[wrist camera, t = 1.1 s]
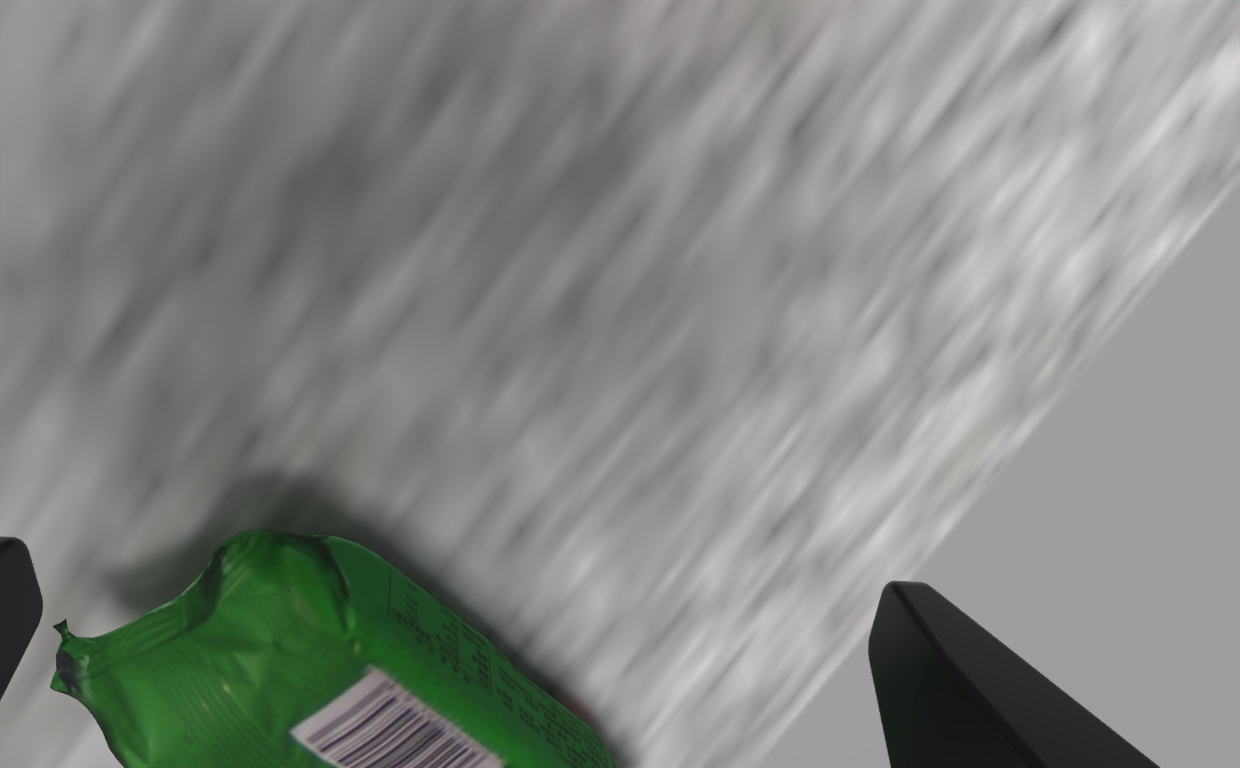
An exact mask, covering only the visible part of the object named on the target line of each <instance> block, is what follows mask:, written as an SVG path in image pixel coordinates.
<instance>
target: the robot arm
mask: <svg viewBox="0 0 1240 768" xmlns="http://www.w3.org/2000/svg"><path fill="white" fill-rule="evenodd" d="M42 610H43V600H42V595H41V592H40V588H39V585H38V581H37V578H36V574H35V571H34V567H33V564H32V560H31V557H30V553H29V550H28V548H27V546H26V544H25V543H24V542H23V541H22V540H20V539H18V538H15V537H0V700H1V698H2V696H3V694H4V692H5V690H6V688H7V686H8V684H9V682H10V680H11V678H12V676H13V674H14V673H15V671H16V669H17V667H18V665H19V663H20V661H21V659H22V657H23V655H24V653H25V651H26V649H27V647H28V645H29V643H30V641H31V639H32V637H33V635H34V633H35V631H36V629H37V627H38V624H39V622H40V619H41V616H42ZM868 654H869V662H870V667H871V672H872V677H873V682H874V686H875V692H876V697H877V702H878V707H879V712H880V717H881V722H882V726H883V731H884V736H885V741H886V746H887V751H888V756H889V761H890V766H891V768H1160V767H1159V766H1158V765H1157V764H1155V763H1154V762H1153V761H1151V760H1150V759H1149V758H1148V757H1146V756H1145V755H1144V754H1143V753H1141V752H1140V751H1139V750H1138V749H1136V748H1135V747H1134V746H1132V745H1131V744H1130V743H1129V742H1127V741H1126V740H1125V739H1123V738H1122V737H1121V736H1120V735H1119V734H1117V733H1116V732H1115V731H1113V730H1112V729H1111V728H1110V727H1108V726H1107V725H1106V724H1105V723H1103V722H1102V721H1101V720H1099V719H1098V718H1097V717H1096V716H1094V715H1093V714H1092V713H1091V712H1089V711H1088V710H1087V709H1085V708H1084V707H1083V706H1082V705H1080V704H1079V703H1078V702H1077V701H1075V700H1074V699H1073V698H1072V697H1070V696H1069V695H1068V694H1067V693H1065V692H1064V691H1063V690H1061V689H1060V688H1059V687H1058V686H1056V685H1055V684H1054V683H1053V682H1051V681H1050V680H1049V679H1048V678H1046V677H1045V676H1044V675H1042V674H1041V673H1040V672H1039V671H1037V670H1036V669H1035V668H1033V667H1032V666H1031V665H1030V664H1029V663H1027V662H1026V661H1025V660H1023V659H1022V658H1021V657H1020V656H1018V655H1017V654H1016V653H1015V652H1013V651H1012V650H1011V649H1009V648H1008V647H1007V646H1006V645H1004V644H1003V643H1002V642H1001V641H999V640H998V639H997V638H996V637H994V636H993V635H992V634H990V633H989V632H988V631H987V630H985V629H984V628H983V627H982V626H980V625H979V624H978V623H976V622H975V621H974V620H973V619H971V618H970V617H969V616H968V615H966V614H965V613H964V612H963V611H961V610H960V609H959V608H958V607H956V606H955V605H954V604H952V603H951V602H950V601H948V600H947V599H946V598H945V597H944V596H942V595H941V594H940V593H939V592H937V591H936V590H935V589H933V588H932V587H930V586H929V585H928V584H926V583H922V582H909V581H891V582H889V583H887V584H886V586H885V587H884V589H883V591H882V594H881V598H880V601H879V605H878V608H877V612H876V615H875V619H874V622H873V626H872V629H871V633H870V637H869V644H868Z"/></svg>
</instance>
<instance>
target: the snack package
mask: <svg viewBox="0 0 1240 768" xmlns="http://www.w3.org/2000/svg"><path fill="white" fill-rule="evenodd" d="M53 627H54V628H55V629H56V630H57V631H58V632H59V633H60V634H61V636H62V642H61V644H60V646H59V649H58V651H57V654H56V667H57V670H56V672H55V674H54V676H53V679H52V682H51V685H50V688H51V689H53V690H54V691H58V692H61V693H64V694H67V695H69V696H71V697H73V698H75V699H77V700H78V701H79V702H81V703H82V704H83V705H84V706H85V707H86V708H87V709H88V710H89V711H90V713H91V714H92V715H93V717H94V718H95V719H96V721H97V723H98V725H99V726H100V728H101V730H102V732H103V734H104V737H105V739H106V742H107V744H108V747H109V749H110V750H111V752H112V753H113V755H114V756H115V758H116V759H117V760H118V761H119V762H120V763H121V765H122V766H123V767H124V768H616V766H615V764H614V762H613V760H612V758H611V756H610V754H609V752H608V750H607V749H606V747H605V745H604V744H603V742H602V741H601V739H600V738H599V737H598V735H597V734H596V733H595V732H594V731H593V729H592V728H590V727H589V726H588V725H587V724H585V723H584V722H583V721H582V720H580V719H579V718H578V717H576V716H575V715H574V714H573V713H571V712H570V711H569V710H568V709H566V708H565V707H564V706H563V705H561V704H560V703H559V702H558V701H556V700H555V699H554V698H553V697H551V696H550V695H549V694H548V693H546V692H545V691H544V690H542V689H541V688H540V687H538V686H537V685H536V684H534V683H533V682H532V681H530V680H529V679H528V678H527V677H525V676H524V675H523V674H522V673H521V672H520V671H519V670H518V669H517V668H516V667H514V666H513V665H512V664H511V663H510V661H509V660H508V659H507V658H506V657H505V656H504V655H503V654H502V653H501V652H500V651H499V650H498V649H497V648H496V647H495V646H493V645H492V644H491V643H490V642H489V641H488V640H487V639H486V638H485V637H484V636H483V635H482V634H481V633H479V632H478V631H476V630H475V629H473V628H472V627H470V626H469V625H468V624H467V623H466V622H464V621H463V620H462V619H461V618H460V617H459V616H457V615H456V614H455V613H454V612H453V611H452V610H451V609H449V608H448V607H447V606H445V605H444V604H443V603H441V602H440V601H439V600H437V599H436V598H435V597H433V596H432V595H431V594H429V593H428V592H426V591H425V590H424V589H422V588H421V587H420V586H418V585H417V584H415V583H414V582H412V581H411V580H410V579H408V578H407V577H406V576H405V575H403V574H402V573H401V572H400V571H399V570H397V569H396V568H395V567H393V566H392V565H391V564H389V563H388V562H387V561H385V560H384V559H383V558H381V557H380V556H379V555H377V554H376V553H374V552H372V551H370V550H368V549H367V548H365V547H364V546H362V545H360V544H359V543H357V542H355V541H349V540H346V539H343V538H340V537H336V536H330V535H298V534H291V533H284V532H276V531H268V530H248V531H244V532H240V533H238V534H236V535H234V536H233V537H231V538H229V539H228V540H226V541H224V542H223V543H222V544H221V545H219V546H218V547H217V548H216V549H215V551H214V552H213V554H212V556H211V558H210V560H209V561H208V563H207V565H206V567H205V568H204V569H203V571H202V572H201V573H200V575H199V576H198V577H197V578H196V579H195V581H194V582H193V583H192V584H191V585H190V586H189V587H188V588H186V589H185V590H184V591H183V592H182V593H181V594H180V595H179V596H177V597H176V598H175V599H173V600H171V601H169V602H167V603H165V604H163V605H161V606H159V607H157V608H155V609H153V610H151V611H149V612H147V613H146V614H144V615H142V616H141V617H139V618H137V619H136V620H134V621H132V622H130V623H128V624H126V625H124V626H123V627H121V628H119V629H116V630H114V631H112V632H109V633H107V634H104V635H101V636H98V637H94V638H81V637H75V636H74V635H73V634H71V633H70V632H69V631H68V628H67V621H66V619H65V620H64V621H63V622H61V623H59V624H57V625H54V626H53Z"/></svg>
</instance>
